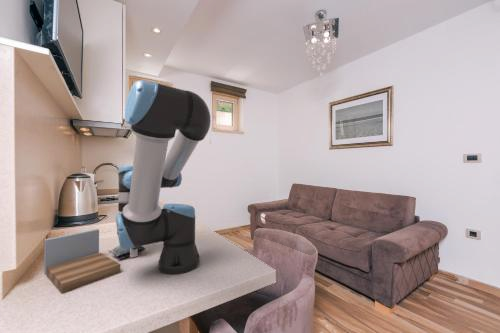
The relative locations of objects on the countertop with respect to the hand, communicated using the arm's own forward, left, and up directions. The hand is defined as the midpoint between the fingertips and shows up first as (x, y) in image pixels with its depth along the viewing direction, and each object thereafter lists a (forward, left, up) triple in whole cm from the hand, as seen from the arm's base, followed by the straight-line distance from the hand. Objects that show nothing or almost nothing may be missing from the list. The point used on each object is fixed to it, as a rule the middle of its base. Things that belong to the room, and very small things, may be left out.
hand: (128, 254), depth 91 cm
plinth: (-5, +17, 0) cm, 18 cm away
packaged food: (0, 0, -1) cm, 1 cm away
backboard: (+7, +17, 0) cm, 18 cm away
